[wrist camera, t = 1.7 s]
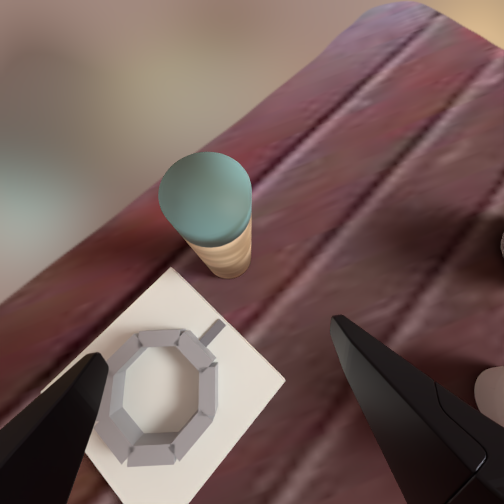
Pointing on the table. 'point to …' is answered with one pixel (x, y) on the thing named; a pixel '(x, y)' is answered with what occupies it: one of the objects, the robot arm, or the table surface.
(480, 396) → the cup
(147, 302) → the hub plate
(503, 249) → the soda can
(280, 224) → the table surface
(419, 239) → the table surface
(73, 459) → the robot arm
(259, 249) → the table surface
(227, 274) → the teal capped wooden cylinder
